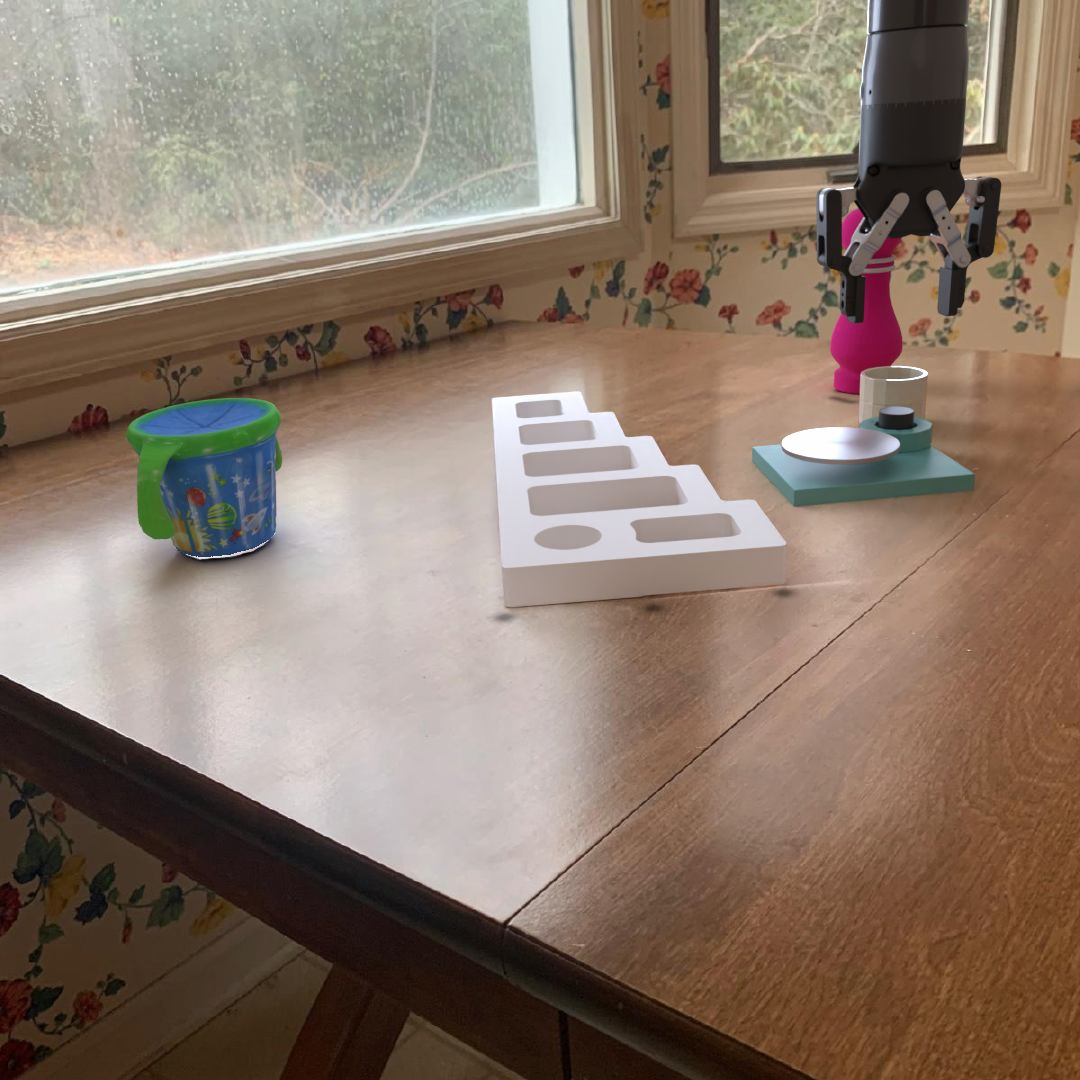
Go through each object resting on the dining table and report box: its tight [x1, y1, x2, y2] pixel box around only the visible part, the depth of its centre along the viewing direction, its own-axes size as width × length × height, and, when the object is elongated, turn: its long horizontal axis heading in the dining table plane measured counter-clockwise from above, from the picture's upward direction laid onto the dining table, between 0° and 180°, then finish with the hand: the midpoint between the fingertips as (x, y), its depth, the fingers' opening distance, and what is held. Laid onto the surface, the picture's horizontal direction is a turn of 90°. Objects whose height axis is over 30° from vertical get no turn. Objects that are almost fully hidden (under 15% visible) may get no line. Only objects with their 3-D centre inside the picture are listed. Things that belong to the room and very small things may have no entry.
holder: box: [491, 390, 787, 608], centre depth 89 cm, size 45×18×3 cm, turn 3°
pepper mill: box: [829, 207, 903, 395], centre depth 111 cm, size 7×7×20 cm
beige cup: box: [858, 365, 929, 424], centre depth 100 cm, size 6×6×5 cm
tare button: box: [878, 406, 914, 430], centre depth 90 cm, size 3×3×2 cm
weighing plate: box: [780, 426, 900, 465], centre depth 86 cm, size 9×9×1 cm
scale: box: [751, 417, 976, 508], centre depth 88 cm, size 14×12×3 cm
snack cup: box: [125, 397, 283, 560], centre depth 81 cm, size 16×10×10 cm
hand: (901, 317), depth 88 cm, fingers open, 7 cm apart
